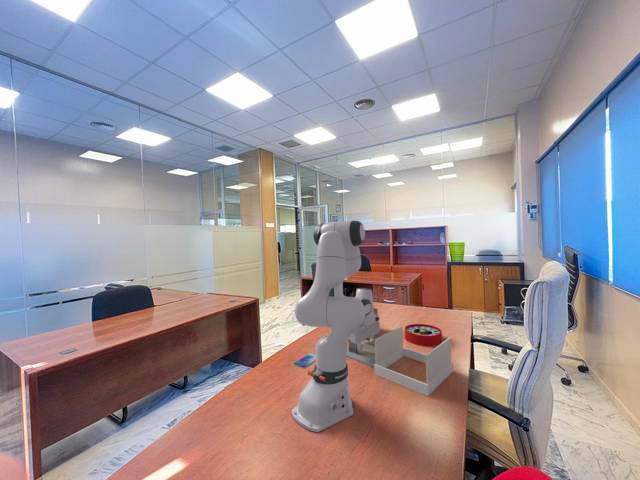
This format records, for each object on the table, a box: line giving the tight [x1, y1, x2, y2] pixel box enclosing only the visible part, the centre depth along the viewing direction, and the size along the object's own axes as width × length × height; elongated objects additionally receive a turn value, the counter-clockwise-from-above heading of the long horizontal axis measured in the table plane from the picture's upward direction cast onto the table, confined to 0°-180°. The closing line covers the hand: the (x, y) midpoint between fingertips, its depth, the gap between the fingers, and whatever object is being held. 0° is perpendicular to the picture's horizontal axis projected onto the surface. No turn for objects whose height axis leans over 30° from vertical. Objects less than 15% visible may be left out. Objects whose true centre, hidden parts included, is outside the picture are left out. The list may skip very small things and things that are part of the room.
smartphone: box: [292, 352, 316, 369], centre depth 131 cm, size 7×1×15 cm
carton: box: [373, 325, 454, 397], centre depth 116 cm, size 25×24×15 cm
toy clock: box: [404, 323, 443, 347], centre depth 153 cm, size 20×6×20 cm
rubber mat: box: [346, 347, 375, 368], centre depth 134 cm, size 16×24×1 cm, turn 44°
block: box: [348, 338, 375, 360], centre depth 134 cm, size 6×18×6 cm, turn 44°
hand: (365, 346), depth 134 cm, fingers open, 8 cm apart
